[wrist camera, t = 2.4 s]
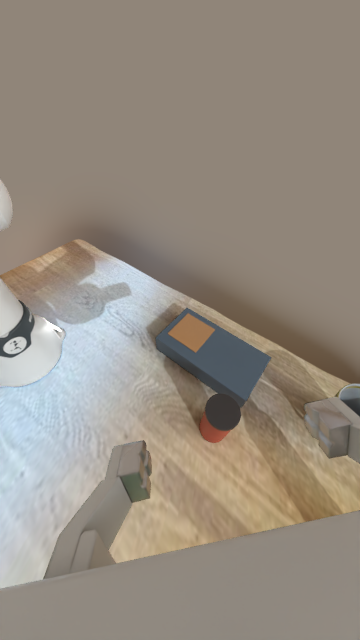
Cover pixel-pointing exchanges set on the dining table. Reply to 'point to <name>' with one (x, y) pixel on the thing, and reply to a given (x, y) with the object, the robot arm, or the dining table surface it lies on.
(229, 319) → the dining table surface
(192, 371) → the platform
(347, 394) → the ceramic cup
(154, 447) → the dining table surface
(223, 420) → the red canister
